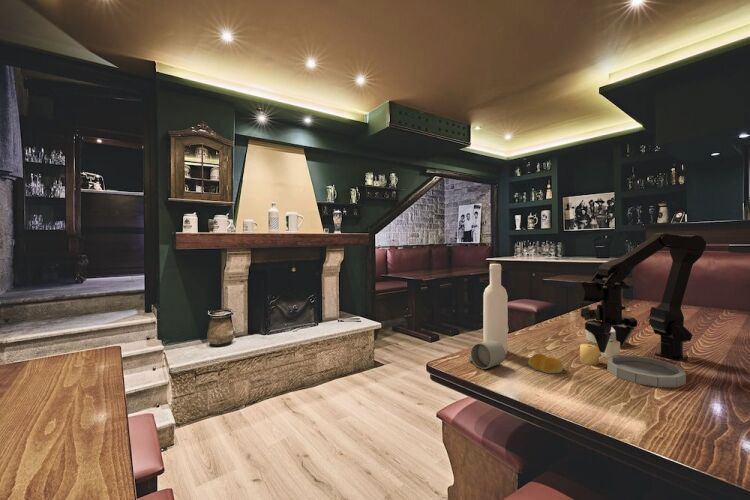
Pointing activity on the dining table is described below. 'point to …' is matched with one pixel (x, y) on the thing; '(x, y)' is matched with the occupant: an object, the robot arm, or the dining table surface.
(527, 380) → the dining table surface
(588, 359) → the ochre bead
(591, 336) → the ramekin
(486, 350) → the ceramic mug
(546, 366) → the bread roll
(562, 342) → the dining table surface
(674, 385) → the round tray
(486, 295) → the bottle
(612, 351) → the cream bead
